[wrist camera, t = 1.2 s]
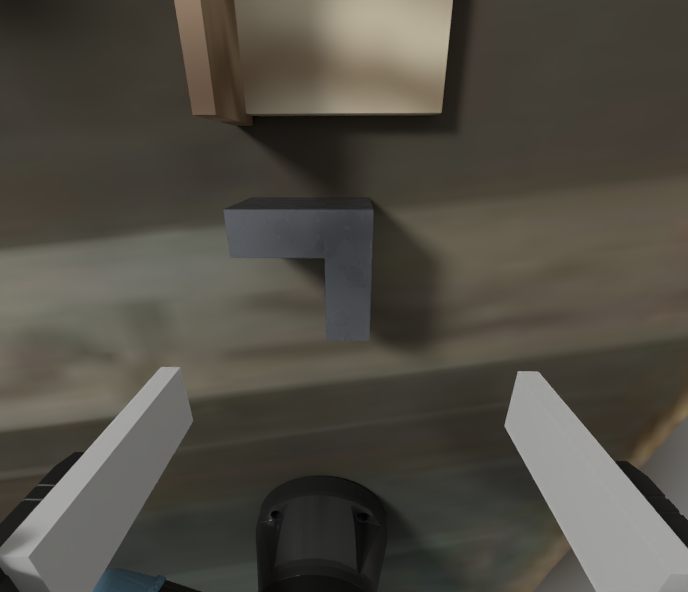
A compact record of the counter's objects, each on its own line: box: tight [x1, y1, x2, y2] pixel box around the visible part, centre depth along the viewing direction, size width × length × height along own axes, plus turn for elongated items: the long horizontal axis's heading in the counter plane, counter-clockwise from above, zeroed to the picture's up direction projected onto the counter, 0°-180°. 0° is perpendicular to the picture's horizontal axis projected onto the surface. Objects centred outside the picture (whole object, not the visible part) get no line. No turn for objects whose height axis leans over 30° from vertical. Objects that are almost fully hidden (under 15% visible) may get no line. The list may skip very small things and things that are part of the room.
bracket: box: [223, 198, 374, 341], centre depth 24 cm, size 9×9×6 cm
